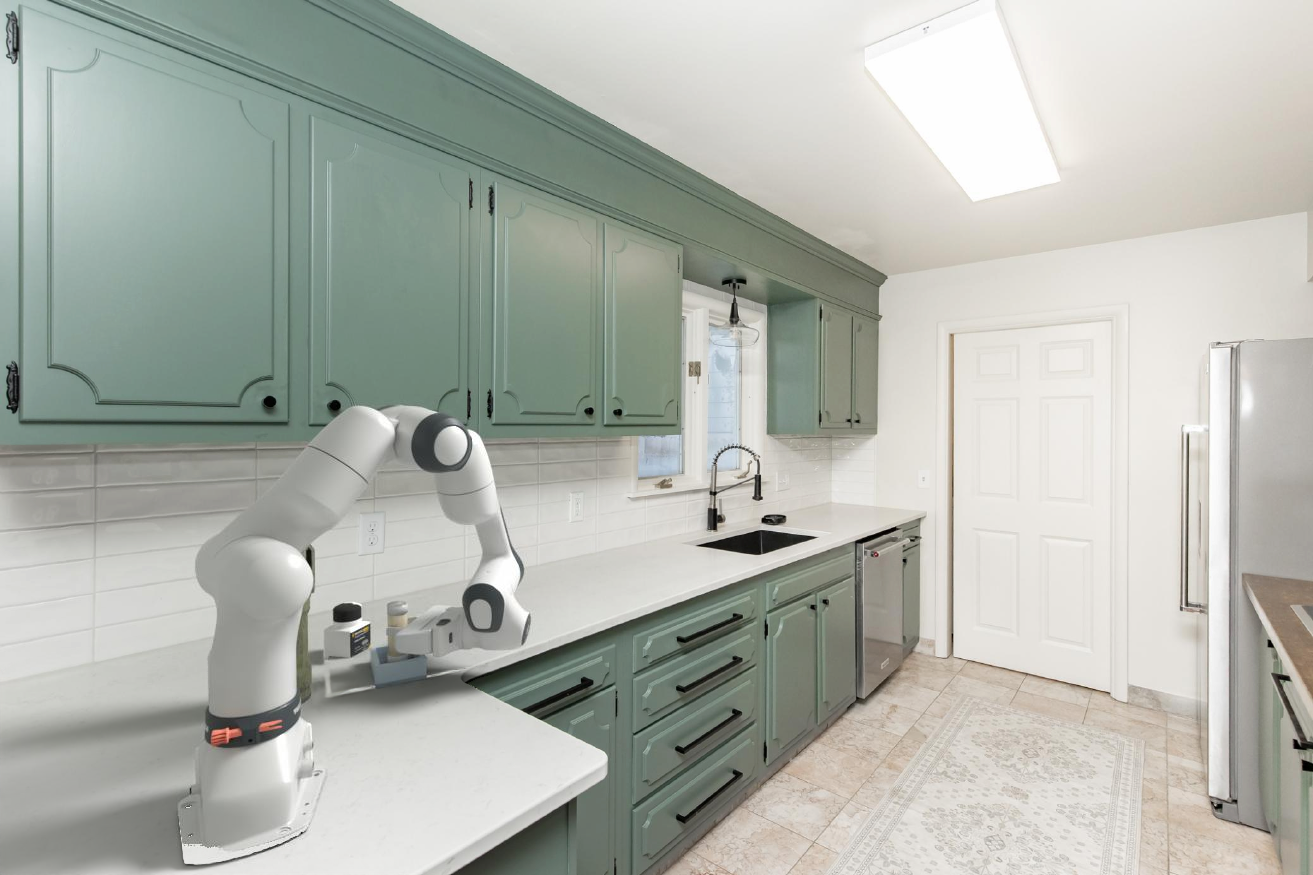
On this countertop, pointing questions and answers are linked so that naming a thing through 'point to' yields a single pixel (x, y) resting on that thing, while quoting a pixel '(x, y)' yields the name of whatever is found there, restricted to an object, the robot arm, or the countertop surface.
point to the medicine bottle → (347, 632)
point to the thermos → (305, 638)
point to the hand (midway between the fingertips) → (393, 626)
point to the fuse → (397, 618)
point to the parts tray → (395, 668)
